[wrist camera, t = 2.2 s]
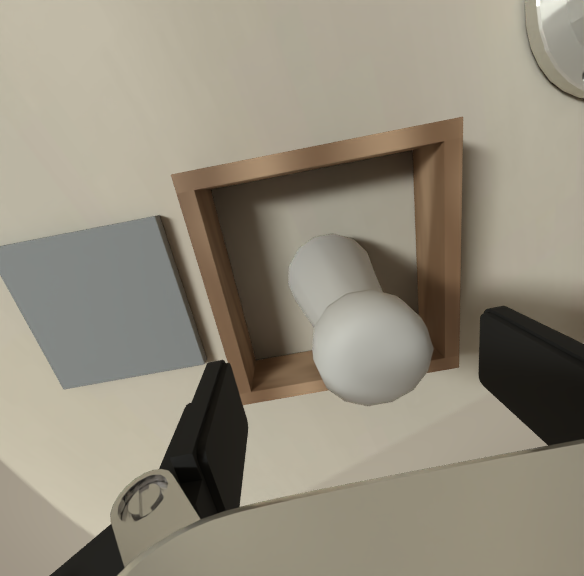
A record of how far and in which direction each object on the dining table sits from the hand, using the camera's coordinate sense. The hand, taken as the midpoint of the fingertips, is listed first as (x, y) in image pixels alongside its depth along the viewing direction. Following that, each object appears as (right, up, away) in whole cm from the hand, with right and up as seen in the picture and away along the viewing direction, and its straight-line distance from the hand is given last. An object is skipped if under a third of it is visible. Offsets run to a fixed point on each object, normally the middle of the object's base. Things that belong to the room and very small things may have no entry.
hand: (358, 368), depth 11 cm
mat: (-17, +1, +12) cm, 20 cm away
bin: (0, +5, +11) cm, 12 cm away
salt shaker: (0, +5, +11) cm, 12 cm away
